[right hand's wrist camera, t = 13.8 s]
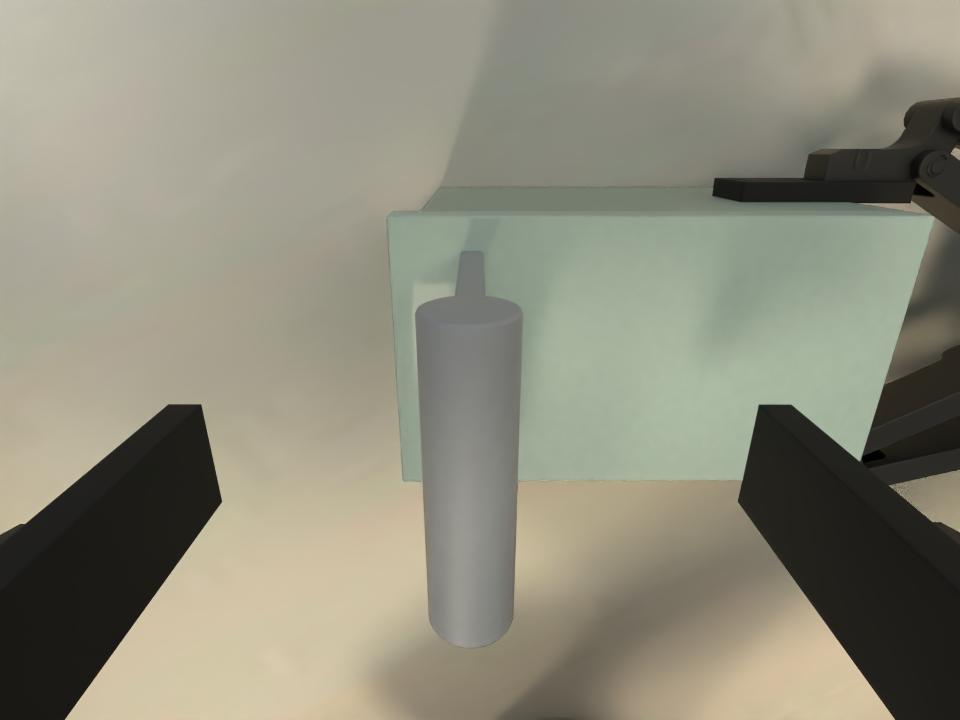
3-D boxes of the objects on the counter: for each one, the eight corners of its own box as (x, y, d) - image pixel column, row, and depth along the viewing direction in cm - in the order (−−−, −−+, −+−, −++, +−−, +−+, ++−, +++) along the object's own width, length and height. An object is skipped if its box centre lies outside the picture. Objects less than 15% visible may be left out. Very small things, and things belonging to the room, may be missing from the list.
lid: (406, 464, 21) (359, 679, 13) (391, 211, 18) (312, 273, 9) (835, 463, 21) (1074, 675, 13) (908, 211, 18) (1307, 273, 9)
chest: (444, 362, 31) (429, 464, 21) (439, 186, 28) (419, 210, 18) (720, 361, 31) (834, 463, 21) (752, 187, 28) (907, 210, 18)
